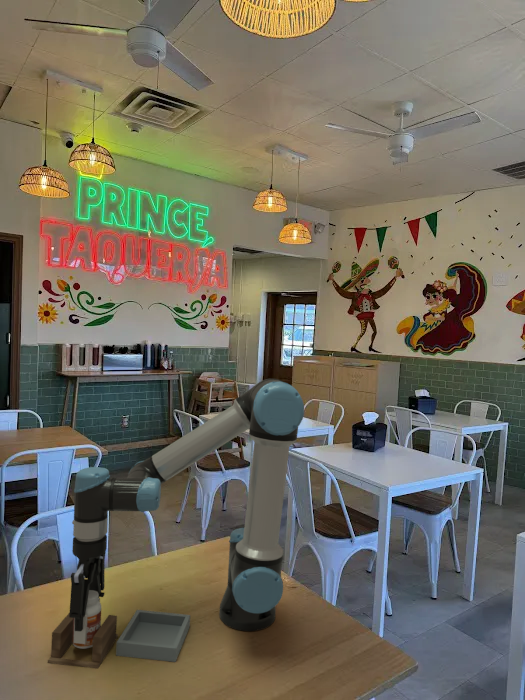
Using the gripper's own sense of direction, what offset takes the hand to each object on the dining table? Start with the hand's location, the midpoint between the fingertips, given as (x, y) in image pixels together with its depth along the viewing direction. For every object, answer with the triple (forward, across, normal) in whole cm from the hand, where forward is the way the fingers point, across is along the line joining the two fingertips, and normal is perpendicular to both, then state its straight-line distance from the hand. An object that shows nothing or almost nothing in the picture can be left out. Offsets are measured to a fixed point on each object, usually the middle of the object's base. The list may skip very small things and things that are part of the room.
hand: (86, 633), depth 115 cm
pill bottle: (+2, 0, 0) cm, 2 cm away
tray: (+4, -6, +15) cm, 16 cm away
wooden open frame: (+4, 0, 0) cm, 4 cm away
